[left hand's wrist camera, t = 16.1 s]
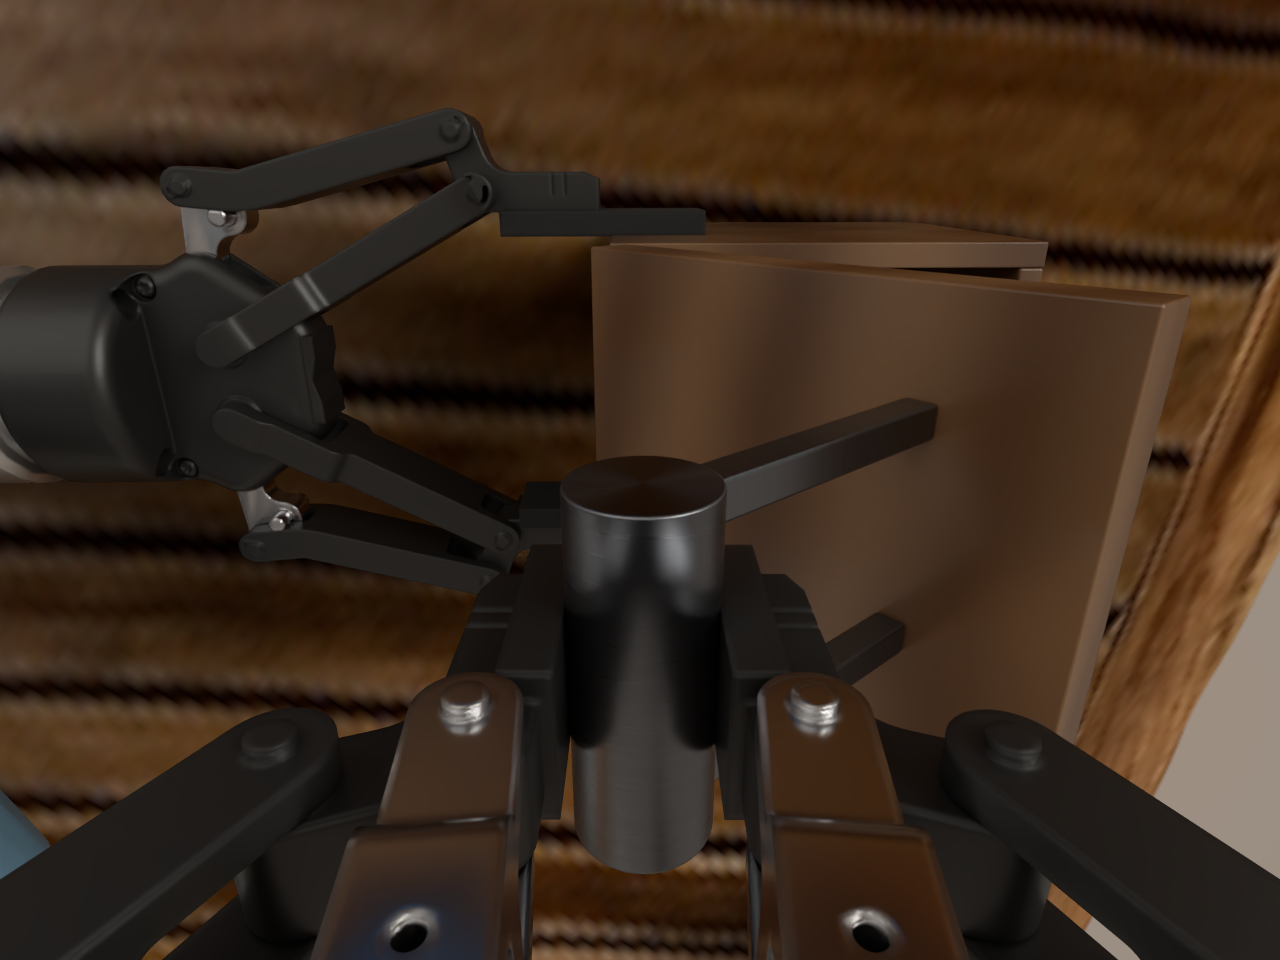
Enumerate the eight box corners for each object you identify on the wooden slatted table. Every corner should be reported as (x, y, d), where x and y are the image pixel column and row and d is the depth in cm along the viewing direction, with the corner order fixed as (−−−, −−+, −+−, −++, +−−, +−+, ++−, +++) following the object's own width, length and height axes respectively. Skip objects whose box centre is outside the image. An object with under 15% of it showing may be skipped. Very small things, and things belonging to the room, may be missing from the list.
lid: (1194, 295, 11) (827, 406, 6) (1064, 785, 15) (758, 1144, 9) (626, 243, 21) (281, 267, 15) (629, 552, 24) (348, 662, 19)
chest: (912, 221, 32) (1049, 241, 21) (884, 438, 35) (992, 544, 25) (614, 222, 31) (609, 243, 21) (617, 440, 35) (614, 548, 25)
